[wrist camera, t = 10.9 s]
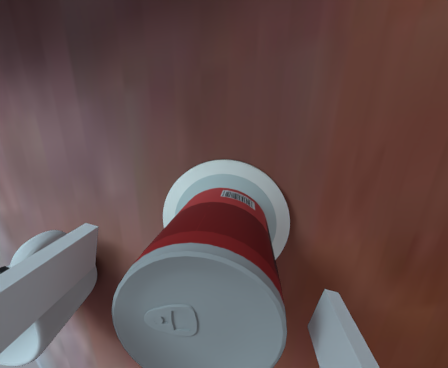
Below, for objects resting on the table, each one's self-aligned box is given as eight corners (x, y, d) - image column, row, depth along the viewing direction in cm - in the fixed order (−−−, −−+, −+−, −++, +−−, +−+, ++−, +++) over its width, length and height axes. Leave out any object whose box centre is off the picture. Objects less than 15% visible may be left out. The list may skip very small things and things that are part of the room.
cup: (51, 201, 23) (-52, 237, 15) (120, 228, 22) (53, 279, 15) (39, 280, 25) (-53, 345, 18) (100, 305, 25) (35, 382, 18)
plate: (157, 255, 23) (153, 260, 22) (177, 144, 20) (174, 145, 19) (267, 287, 22) (268, 293, 21) (306, 178, 19) (309, 180, 18)
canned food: (170, 198, 20) (80, 274, 9) (252, 173, 18) (257, 228, 8) (198, 268, 21) (149, 403, 11) (277, 249, 20) (309, 383, 9)
